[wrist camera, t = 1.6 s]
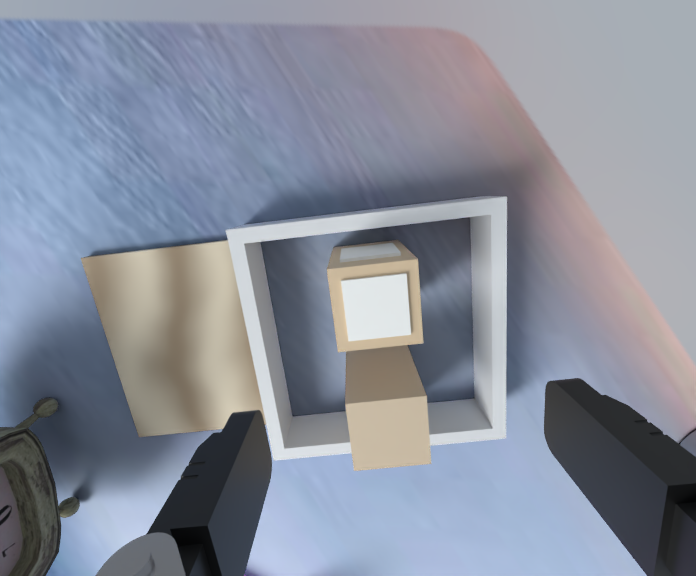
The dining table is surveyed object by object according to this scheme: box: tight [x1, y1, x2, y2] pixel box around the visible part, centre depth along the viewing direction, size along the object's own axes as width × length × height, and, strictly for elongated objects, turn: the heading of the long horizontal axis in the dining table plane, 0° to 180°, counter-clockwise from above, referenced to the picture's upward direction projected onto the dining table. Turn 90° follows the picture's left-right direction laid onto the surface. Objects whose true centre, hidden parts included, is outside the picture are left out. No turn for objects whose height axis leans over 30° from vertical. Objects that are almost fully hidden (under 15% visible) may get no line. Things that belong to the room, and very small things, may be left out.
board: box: [81, 240, 266, 437], centre depth 28 cm, size 12×16×1 cm
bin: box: [226, 196, 507, 460], centre depth 26 cm, size 18×18×4 cm
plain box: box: [345, 345, 431, 471], centre depth 26 cm, size 5×5×8 cm
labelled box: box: [327, 240, 423, 352], centre depth 23 cm, size 5×5×8 cm
